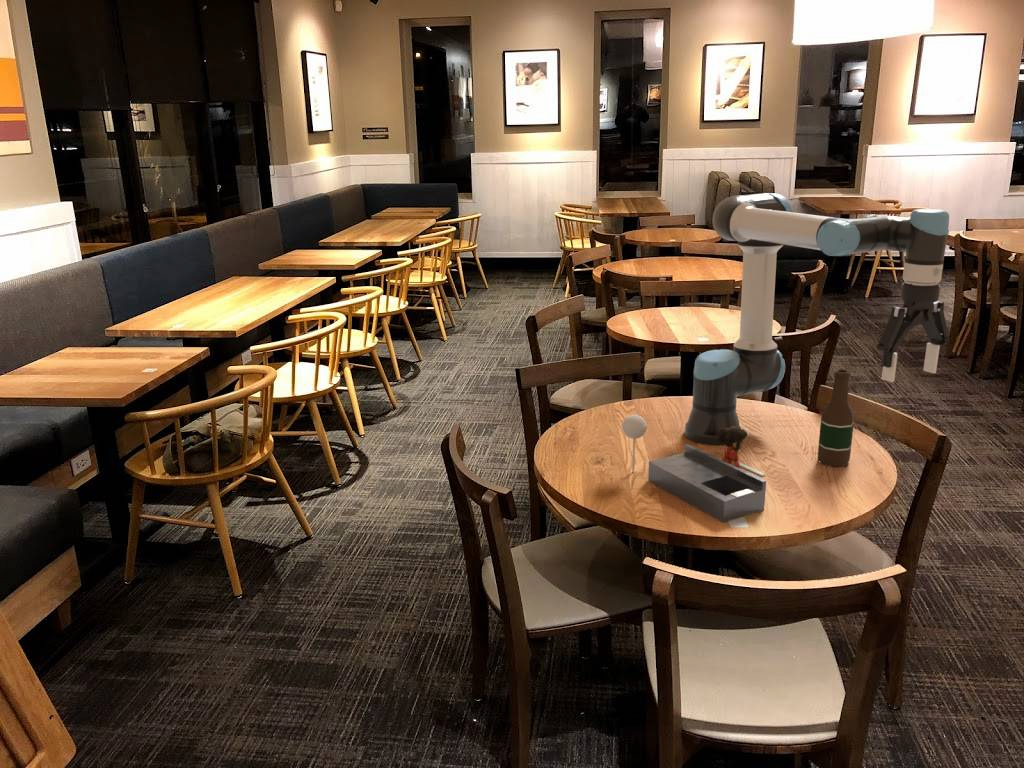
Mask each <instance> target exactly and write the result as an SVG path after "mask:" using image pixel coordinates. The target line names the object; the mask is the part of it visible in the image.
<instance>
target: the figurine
mask: <svg viewBox="0 0 1024 768" xmlns="http://www.w3.org/2000/svg"><path fill="white" fill-rule="evenodd" d="M747 436H748V432H747V431H746V430H745V429H743V428H739V427H736V426H731V427H729V428H725V429H720V431H719V434H718V440H719V442H720V443H721V444H722V446H726V449H725V451H724V456H722V458H721V460H723V461H725V462H727V463H729V464H731V465H733V466H736V467H738V468H740V464H739V462H740V461H739V455H738V454H739V453H738V452H739V451H740V450H741V449H742V448H743V447H744V440H745V439H746V438H747Z"/></svg>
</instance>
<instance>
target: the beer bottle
mask: <svg viewBox="0 0 1024 768" xmlns="http://www.w3.org/2000/svg"><path fill="white" fill-rule="evenodd" d="M833 376H834V382H833V388H832V393H831V397H830V400H829V402H828V403H827V405H826V406H825V407H824V409H823V411H822V413H821V418H820V426H819V438H818V446H817V461H818V462H819V461H820V462H819V463H820V464H821V465H824V466H826V465H827V466H828V467H831V468H832V467H833V468H842V467H846V466H847V465H848V464H849V462H850V460H851V459H850V458H851V452H852V442H853V433H854V424H855V413H854V410H853V407H852V406H851V404H850V403H849V385H850V384H849V383H850V382H849V381H850V378H849V377H851V372H850V371H849V370H846V369H836V370H835V371H834V374H833Z"/></svg>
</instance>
